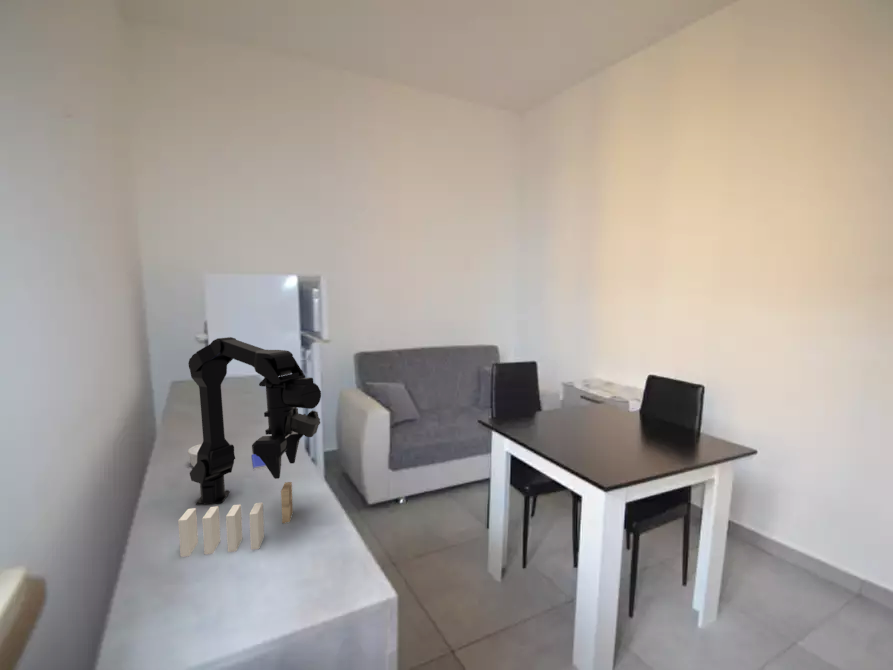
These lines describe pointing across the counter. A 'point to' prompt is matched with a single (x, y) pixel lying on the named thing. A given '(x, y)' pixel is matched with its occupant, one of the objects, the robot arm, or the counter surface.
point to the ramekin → (194, 454)
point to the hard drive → (257, 462)
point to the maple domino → (286, 502)
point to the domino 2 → (211, 530)
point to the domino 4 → (256, 526)
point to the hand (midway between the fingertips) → (285, 470)
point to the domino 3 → (234, 528)
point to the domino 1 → (188, 532)
